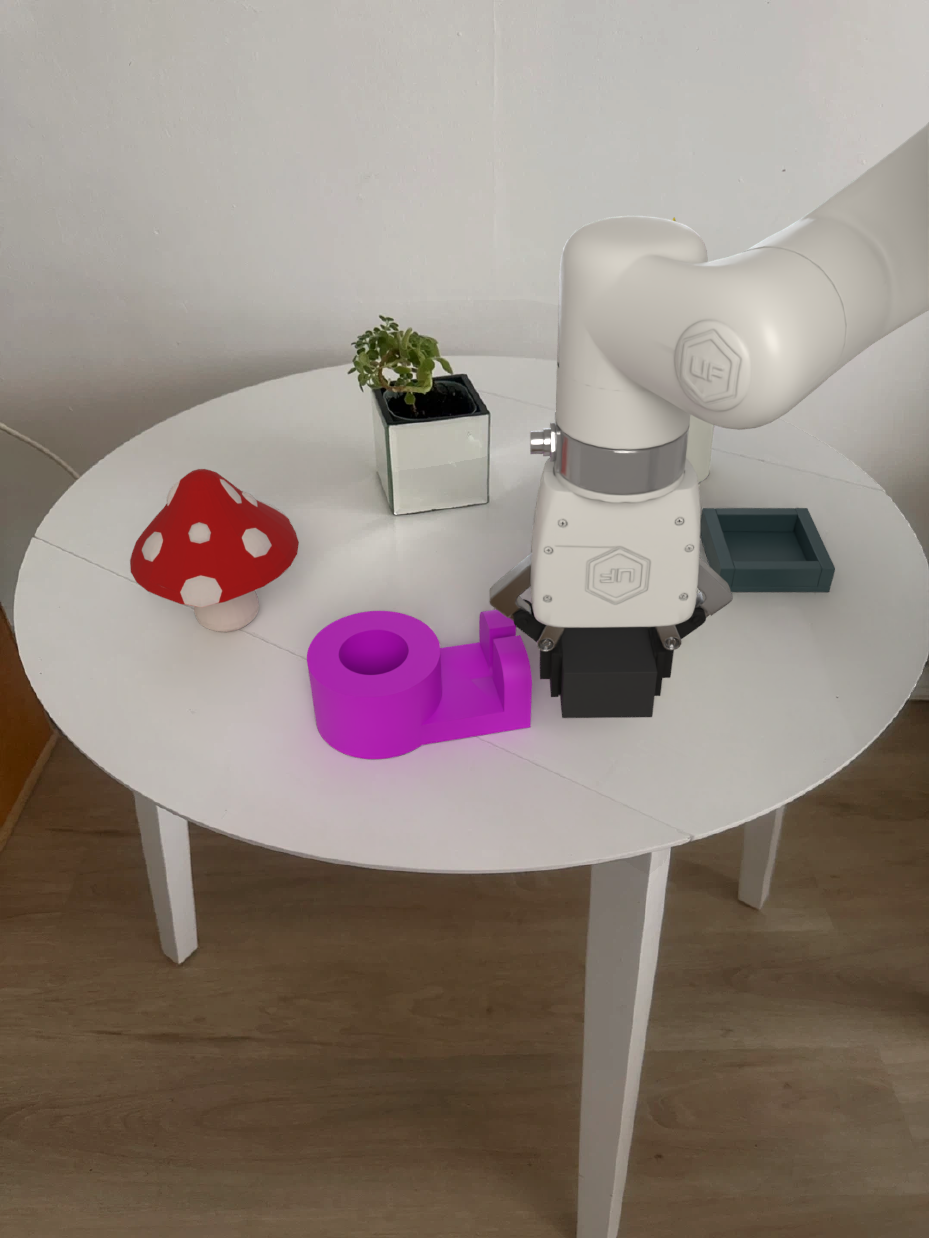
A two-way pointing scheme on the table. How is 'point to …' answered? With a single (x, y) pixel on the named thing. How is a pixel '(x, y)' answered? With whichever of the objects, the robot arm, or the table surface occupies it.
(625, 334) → the robot arm
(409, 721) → the tape dispenser
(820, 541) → the socket pad
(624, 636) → the black block
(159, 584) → the decorative mushroom
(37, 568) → the table surface
